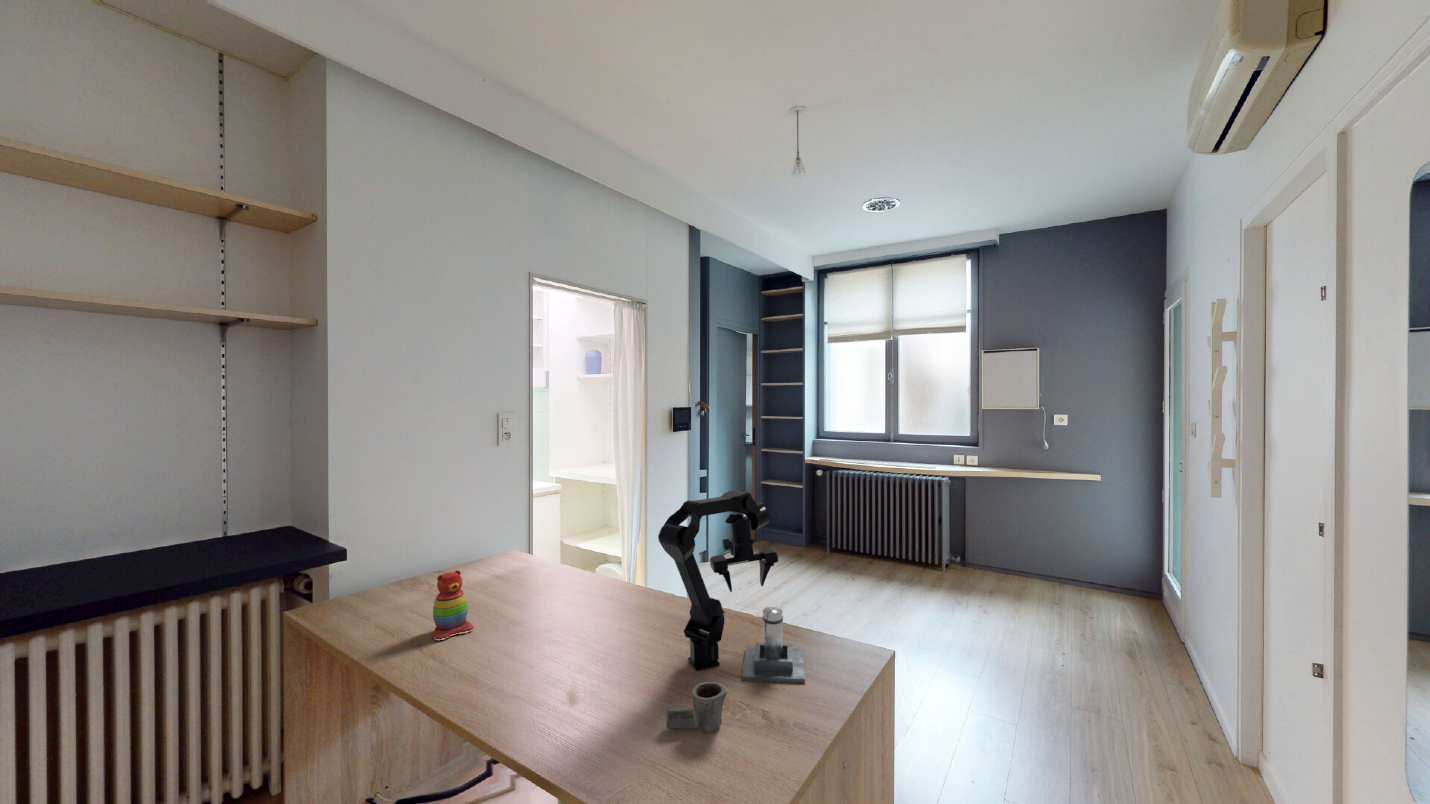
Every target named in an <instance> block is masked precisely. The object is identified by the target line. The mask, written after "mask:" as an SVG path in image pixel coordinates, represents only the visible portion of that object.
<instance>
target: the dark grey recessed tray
mask: <svg viewBox="0 0 1430 804" xmlns="http://www.w3.org/2000/svg"><path fill="white" fill-rule="evenodd" d="M804 662H805V661H804V651H803V648H802V647H801V648H800V647H799V648H797V647H796V648H795V647H793V644H792V643H783V659H764V642H755V646H746V647H745V653H744V661H743V666H742V673H741V674H742V675H741V681H750V682H751V681H752V682H768V683H771V682H773V683H789V684H790V683H795V684H805V683H806V675H805V663H804Z"/></svg>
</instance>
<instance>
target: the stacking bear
mask: <svg viewBox="0 0 1430 804" xmlns="http://www.w3.org/2000/svg"><path fill="white" fill-rule="evenodd" d="M436 579H437V580H436V581H437V583H436V586H437V590H438V592H439V593H437V595H436V598H434V602H433V608H432V618H433V621H434V624H435V628H434V630H433V632H432V638H433V637H435V639H442V638H446V637H449V636H450V635H452V634H456V633H460V632H465V631H470V630H472V629H473V628H474V625H473V623H471V622H470V621H468V620H467V616H468V612H469V611H468V607H469V605H468V601H467V598H466V597H467V596H466V594H465V592H464V590H463V589H462V586H463V578H462V576H461V571H460V570H455V571H454V572H453V571H452V572H451V571H449V572H445V573H443V574H440V575H438V576H437V577H436Z"/></svg>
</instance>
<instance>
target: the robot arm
mask: <svg viewBox="0 0 1430 804" xmlns="http://www.w3.org/2000/svg"><path fill="white" fill-rule="evenodd" d="M764 504H765V503H763V502H756V501H755V500H754V498H753V496H752V493H750V492H746V491H737V490H729V491H727V492H724V493H723V494H722V495H721V496H717V497H710V498H703V499H702V498H701V499H695V500H687V501H684V502H683V503H682V504H681V506H680V508H679V509H678V510H676V511H675V512H673V514H671V515H670V516H668V518H667V519H666V521H665V523H664V524H663V526H662V527H661V528H660V530H659V532H658V533H659V534H658V536H657V537H658V542H659V544H660V545H661V547H662V549H663V551H664V552H665V553H667V554H668V555H669V556H670V558H672V560H674V563H675V565H676V568H677V571H678V573H679V576H680V579H681V580H682V583H683V585H684V589H685V591H686V593H687V596H688V598H689V601H690V603H691V605H690V609H689V616H690V618H689V620H688V621H687V623H686V625H685V627H684V629H683V633H684V636H685V638H688V639H689V654H690V655H689V657H688V658H687V659H688V662H689V663H690V665H692V667H693V669H694V670H695V671H696V672H697V671H701V670H706V669H709V668H710V669H711V668H714V667H719V666H720V664H721V663H720V661H718V660H719V658H720V653H719V642H720V641H722V636H723V631H724V627H725V626H724V625H725V620H726V619H725V615H724V614H725V610H724V609H723V607H722V603H721V601H720V599H719V600H718V599H716V598H713V597H710V595H709V592H708V590H707V586H706V584H705V582H704V579H703V576H702V574H701V571H700V569H699V568H700V567H699V566H698V563H697V561H696V558H695V554H694V552H695V547H696V540H695V538H696V537H697V535H698V534H699V532H700V525H701V520H702V519H703V518H702V517H704V516H705V517H706V516H711V515H716V514H722V513H728V512H730V513H729V516H727V518H726V519H725V524H730V528H731V529H730V530H731V541H730V538H725V539H722V540H721V541H722V543H721V544H722V549H723V550H722V551H729V553H730V555H731V556H733V557H728V558H726V557H725V555H724V554H719V555H712V556H711V557H710V558H709V566H710V568H711V569H712V571H713V573H714V574H718V575H719V576H722V577H723V578H724V580H725V582H726V586H727V588H728V590H729V592H730V593H732V592H733V586H732V580H731V574H730V571H729V566H732V565H739V564H744V563H745V564H746V563H751V562H757V561H758V562H759V583H760V586H761V587H764V584H765V581H766V579H767V577H768V573H769V572H770V570H771V568H772V567H774V566H775V564H776V563H779V555H778V552H776V550H775V549H774V548H772V547H771V546H767V547H762V548H759V549H758V552H757V553H756V552H754V544H755V543H754V540H753V531H756V530H758V529H760V528H761V527H764V526H766V525H768V524H769V523H770V521H771V514H770V511H768V509H767V508H766V507H765V505H764ZM734 513H736V514H734ZM689 517H691V518H690V522H689V524H688V525H687V526H685V525H681V524H682V523H683V522H685V521H686V520H687V519H688V518H689Z"/></svg>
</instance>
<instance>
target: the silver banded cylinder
mask: <svg viewBox="0 0 1430 804" xmlns="http://www.w3.org/2000/svg"><path fill="white" fill-rule="evenodd" d="M762 611H763V613H762V621H763V623H762V624H763V625H762V626H763V627H762V629H763V643H764V659H783V644H784V642H783V641H784V639H783V634H784V633H783V621H784V617H783V609H781V608H780V607H777V606H767V607H764V608H763V609H762Z"/></svg>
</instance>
